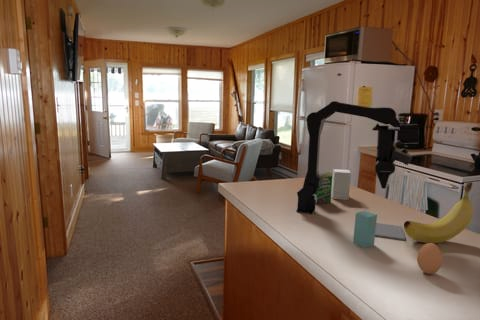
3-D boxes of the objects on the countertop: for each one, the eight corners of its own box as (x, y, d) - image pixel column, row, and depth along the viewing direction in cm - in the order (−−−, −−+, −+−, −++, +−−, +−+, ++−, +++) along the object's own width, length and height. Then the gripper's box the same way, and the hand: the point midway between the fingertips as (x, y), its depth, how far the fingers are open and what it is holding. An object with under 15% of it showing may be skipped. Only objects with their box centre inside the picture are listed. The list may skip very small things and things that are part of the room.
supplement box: (348, 200, 154) (351, 173, 152) (331, 198, 156) (334, 171, 153) (347, 195, 161) (349, 169, 159) (331, 194, 163) (333, 168, 161)
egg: (429, 280, 87) (434, 249, 86) (410, 269, 92) (414, 240, 91) (445, 276, 89) (449, 246, 88) (425, 266, 94) (429, 237, 93)
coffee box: (316, 204, 147) (318, 174, 144) (312, 202, 149) (314, 173, 147) (331, 202, 150) (333, 173, 148) (326, 200, 153) (329, 172, 150)
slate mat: (366, 234, 115) (366, 233, 115) (365, 223, 126) (366, 221, 126) (405, 240, 111) (405, 238, 111) (401, 227, 122) (401, 226, 122)
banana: (407, 246, 107) (415, 184, 103) (397, 238, 113) (404, 180, 109) (472, 244, 110) (482, 184, 106) (459, 237, 116) (468, 179, 112)
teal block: (353, 243, 108) (355, 213, 107) (361, 239, 111) (364, 210, 109) (365, 248, 105) (368, 217, 103) (373, 244, 107) (377, 214, 106)
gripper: (413, 147, 110) (410, 194, 113) (409, 139, 127) (406, 180, 130) (376, 146, 115) (374, 191, 118) (376, 139, 131) (375, 178, 135)
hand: (383, 185), depth 125 cm, fingers open, 9 cm apart
